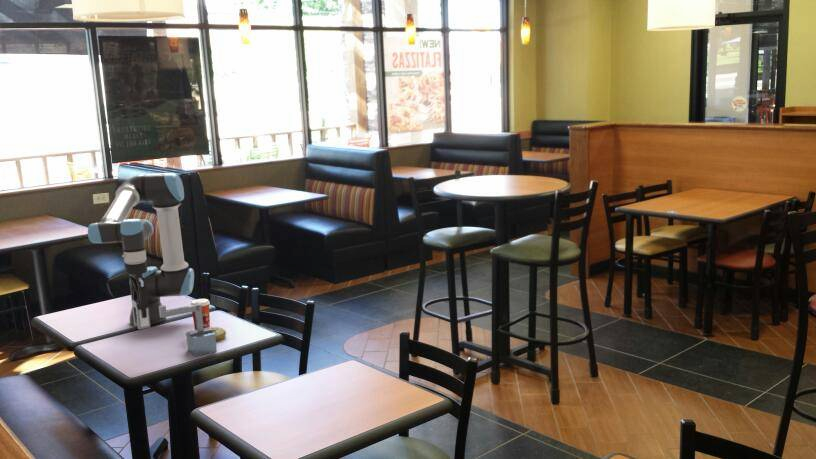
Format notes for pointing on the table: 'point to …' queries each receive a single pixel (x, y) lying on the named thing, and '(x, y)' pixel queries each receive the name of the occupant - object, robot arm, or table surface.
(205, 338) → the hook
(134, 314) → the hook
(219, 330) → the decorated donut
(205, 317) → the paper cup
